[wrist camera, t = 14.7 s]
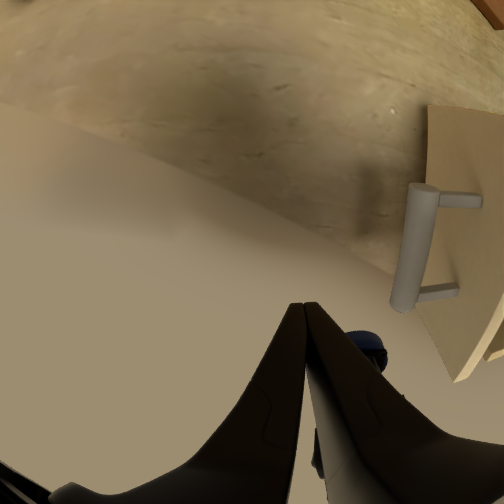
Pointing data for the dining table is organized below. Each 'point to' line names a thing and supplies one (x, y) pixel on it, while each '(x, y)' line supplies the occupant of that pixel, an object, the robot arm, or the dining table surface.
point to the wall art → (492, 11)
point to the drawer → (457, 239)
